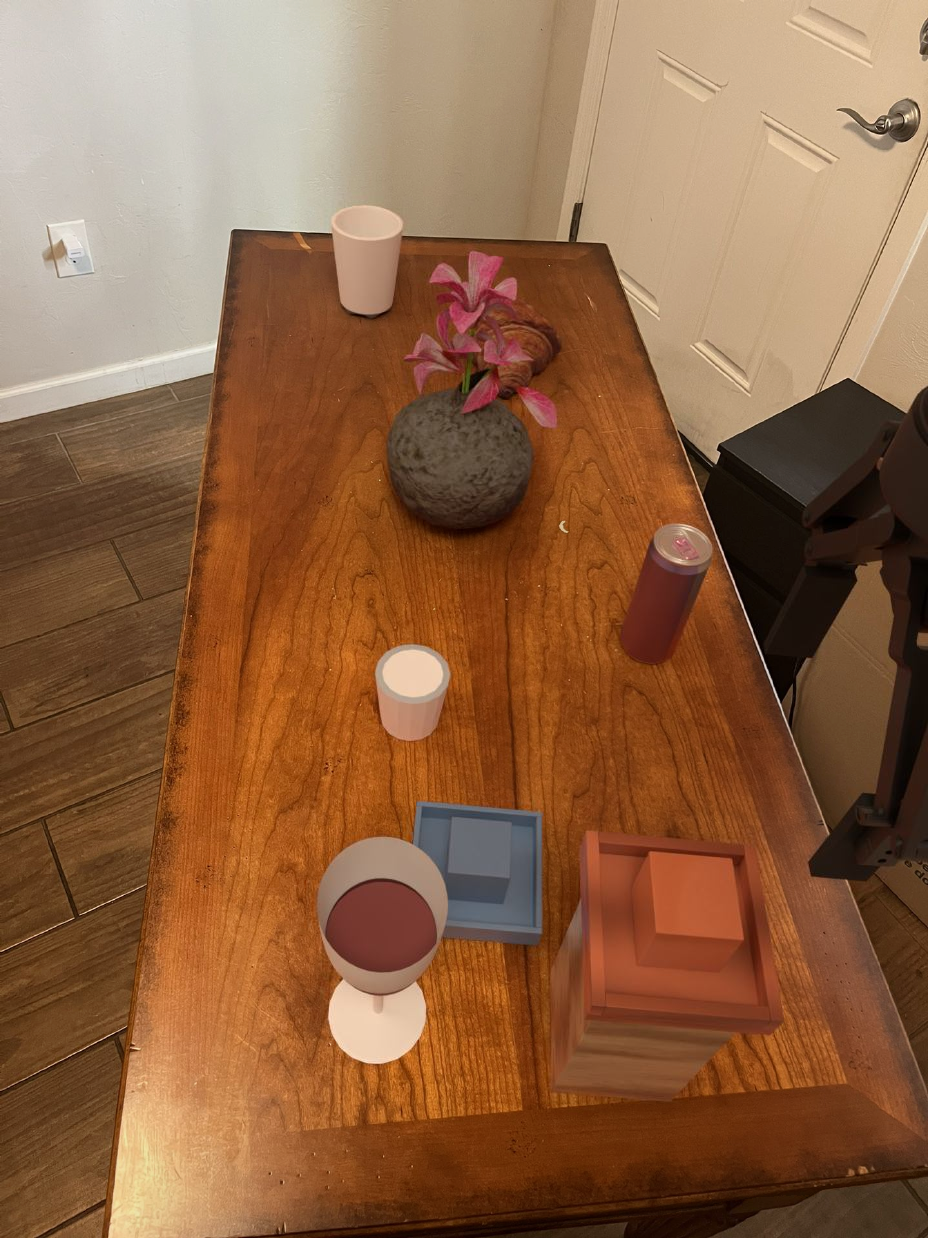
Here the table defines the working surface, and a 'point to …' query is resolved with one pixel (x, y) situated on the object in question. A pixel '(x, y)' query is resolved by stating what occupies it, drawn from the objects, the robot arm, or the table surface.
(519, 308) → the pastry
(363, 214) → the cup
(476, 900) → the slate block
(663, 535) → the beverage can
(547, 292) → the table surface
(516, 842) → the tray
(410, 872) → the wineglass
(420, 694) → the shot glass
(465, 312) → the vase
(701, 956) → the terracotta block
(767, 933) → the stand
